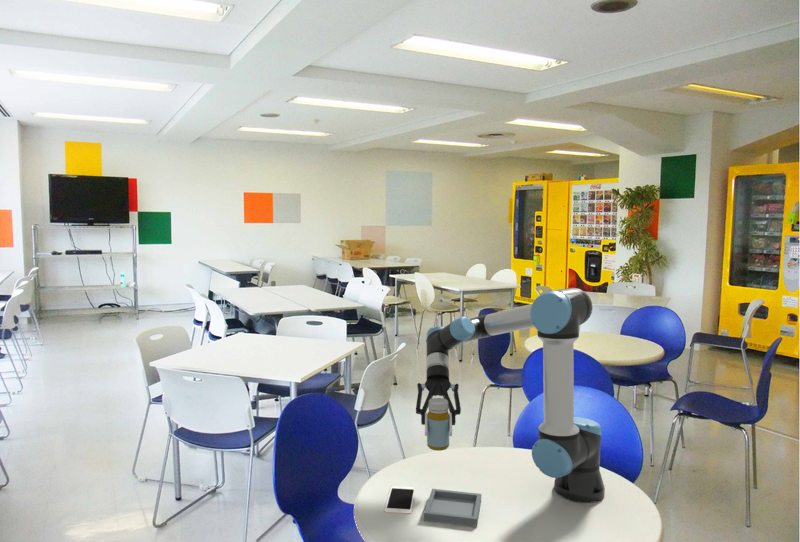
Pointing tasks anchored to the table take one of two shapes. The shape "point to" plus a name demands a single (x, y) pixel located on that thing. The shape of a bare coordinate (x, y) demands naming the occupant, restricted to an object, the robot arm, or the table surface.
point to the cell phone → (400, 500)
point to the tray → (453, 507)
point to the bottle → (438, 424)
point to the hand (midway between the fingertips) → (438, 434)
